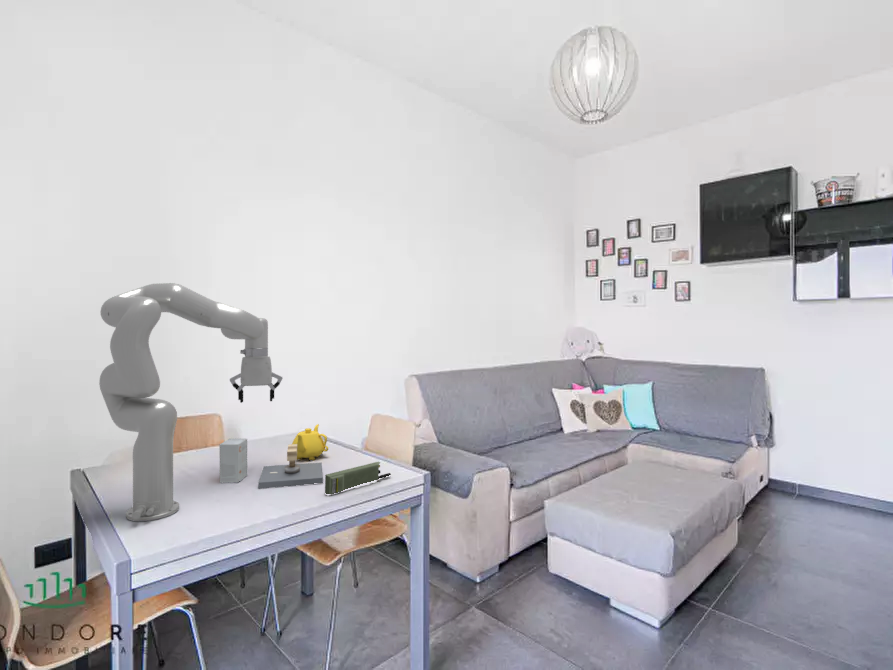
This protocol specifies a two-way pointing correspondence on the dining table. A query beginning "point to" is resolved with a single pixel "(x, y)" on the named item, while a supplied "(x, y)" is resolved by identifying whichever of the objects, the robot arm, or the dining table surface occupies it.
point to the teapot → (310, 443)
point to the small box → (233, 460)
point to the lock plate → (290, 475)
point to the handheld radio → (352, 477)
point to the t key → (292, 459)
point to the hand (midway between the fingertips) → (256, 401)
